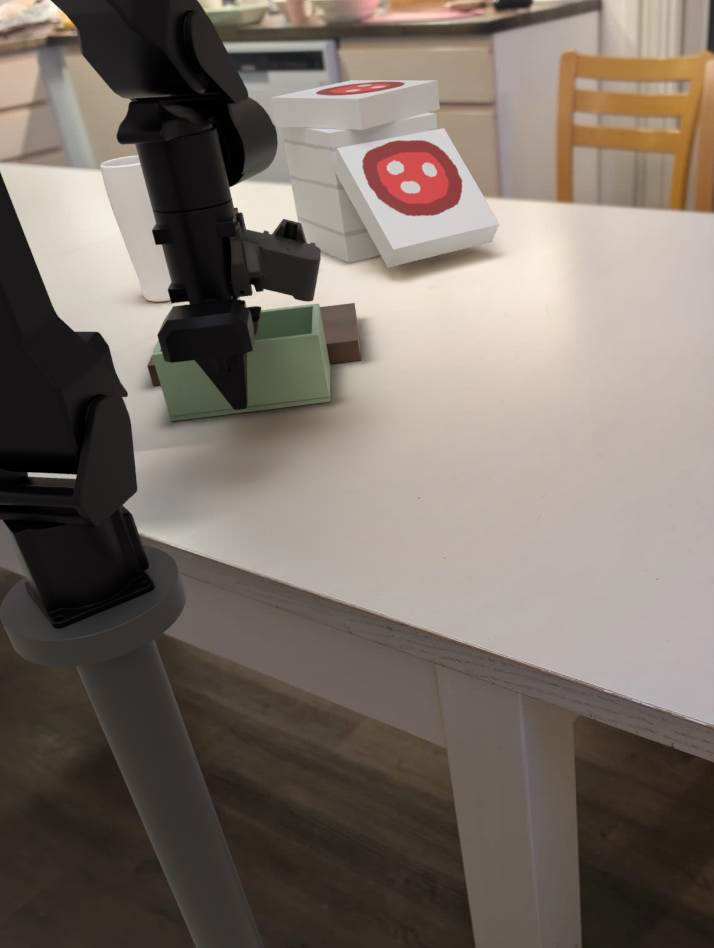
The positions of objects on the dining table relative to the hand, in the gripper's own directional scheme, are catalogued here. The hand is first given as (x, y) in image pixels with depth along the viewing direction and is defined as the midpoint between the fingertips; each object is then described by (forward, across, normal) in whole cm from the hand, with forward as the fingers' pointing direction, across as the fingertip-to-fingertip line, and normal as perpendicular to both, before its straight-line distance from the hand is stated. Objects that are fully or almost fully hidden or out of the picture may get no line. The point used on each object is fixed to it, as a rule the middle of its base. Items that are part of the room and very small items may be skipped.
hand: (241, 408), depth 77 cm
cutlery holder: (+2, +10, 0) cm, 10 cm away
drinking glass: (+2, +45, +12) cm, 47 cm away
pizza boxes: (+2, +56, -16) cm, 58 cm away
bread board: (+2, +20, 0) cm, 21 cm away
